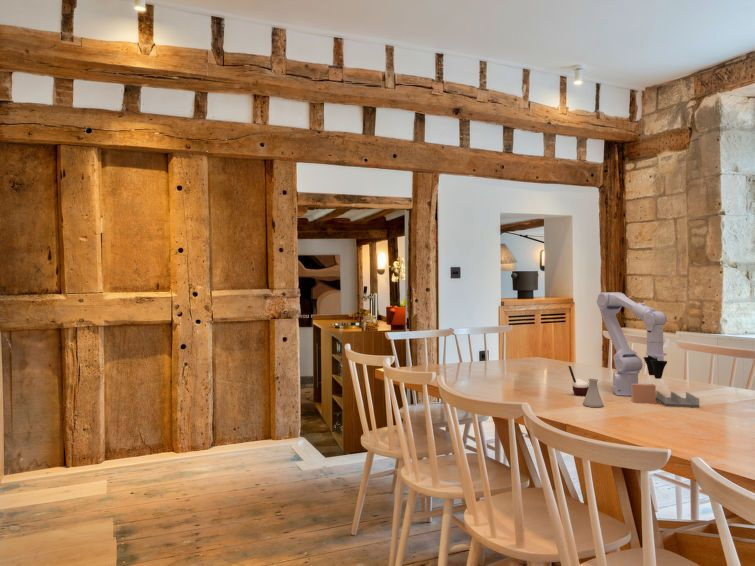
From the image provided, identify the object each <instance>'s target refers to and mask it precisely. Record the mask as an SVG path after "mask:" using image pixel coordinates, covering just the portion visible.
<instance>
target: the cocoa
mask: <svg viewBox="0 0 755 566" xmlns="http://www.w3.org/2000/svg"><path fill="white" fill-rule="evenodd" d="M568 370H569V372H570V374H571V375H570V376H571V377H572V392H573V394H574V395H575V396H578V397H586V394H587V391H588V388H589V382H587V381H585V380H583V379H581V378H575V375H574V372H573V369H572V366H571V365H568Z"/></svg>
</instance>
